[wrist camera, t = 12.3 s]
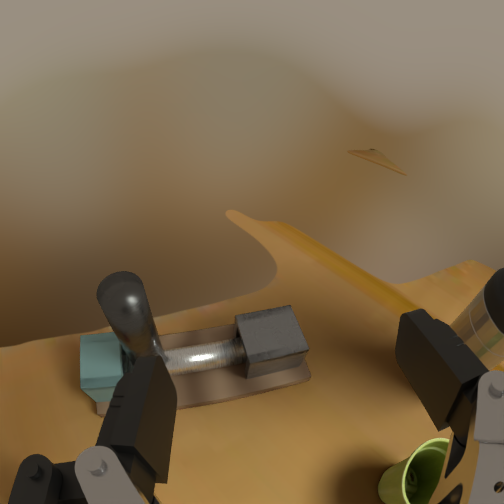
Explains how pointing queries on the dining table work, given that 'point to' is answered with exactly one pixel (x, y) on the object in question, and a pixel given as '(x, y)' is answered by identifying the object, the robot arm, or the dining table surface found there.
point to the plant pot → (415, 475)
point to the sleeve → (270, 341)
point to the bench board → (219, 374)
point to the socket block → (100, 365)
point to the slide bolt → (145, 333)
